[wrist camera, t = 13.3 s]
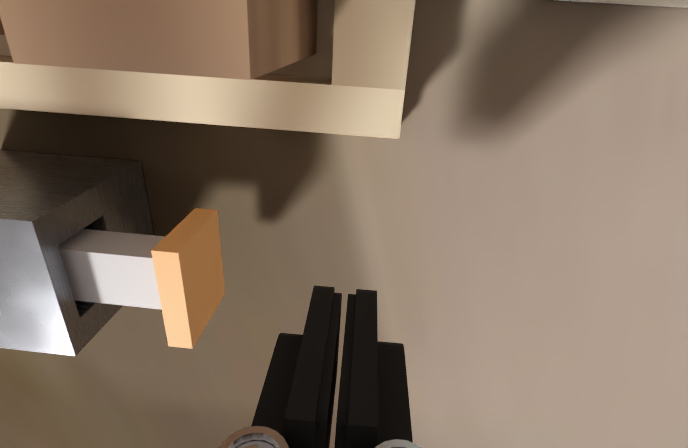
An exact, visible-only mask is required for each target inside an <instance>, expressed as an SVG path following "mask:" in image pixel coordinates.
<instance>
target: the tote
mask: <svg viewBox="0 0 688 448" xmlns="http://www.w3.org/2000/svg"><path fill="white" fill-rule="evenodd" d="M556 1H573V2H591V3H609V4H627V5H644V6H662V7H680V8H688V0H556Z"/></svg>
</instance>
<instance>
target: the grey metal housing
mask: <svg viewBox="0 0 688 448" xmlns="http://www.w3.org/2000/svg"><path fill="white" fill-rule="evenodd" d="M82 229H90V230H100V231H111V232H122V233H132V234H143V235H154V232H153V227H152V221H151V215H150V210H149V204H148V198H147V193H146V187H145V181H144V176H143V170H142V164H141V161H132V160H120V159H108V158H96V157H84V156H72V155H60V154H48V153H36V152H24V151H12V150H0V348H7V349H16V350H25V351H34V352H43V353H52V354H61V355H70V356H76V355H77V354H78V353H79V352H80V351H81V350H82V349H83V348H84V347H85V345H86V344H87V343H88V342H89V341H90V340H91V339H92V338H93V337H94V336H95V335H96V334H97V333H98V332H99V330H100V329H101V328H102V327H103V326H104V325H105V324H106V323H107V322H108V321H109V320H110V319H111V318H112V317H113V316H114V314H115V313H116V312H117V311H118V310H119V309H120V308H121V307H122V306H123V305H115V304H105V303H95V302H86V301H76V300H74V297H73V294H72V291H71V287H70V284H69V281H68V277H67V274H66V271H65V267H64V264H63V261H62V257H61V254H60V251H59V248H58V245H59V244H61V243H62V242H64V241H65V240H67V239H68V238H70V237H71V236H73V235H74V234H76V233H77V232H79V231H80V230H82Z"/></svg>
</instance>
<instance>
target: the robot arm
mask: <svg viewBox="0 0 688 448" xmlns="http://www.w3.org/2000/svg"><path fill="white" fill-rule="evenodd" d="M341 300H342V293H334V287H324V286H314V288H313V293H312V297H311V302H310V306H309V311H308V315H307V320H306V324H305V329H304V333H303V335H298V334H286V333H280V334H279V336H278V339H277V342H276V346H275V349H274V352H273V356H272V359H271V362H270V366H269V369H268V372H267V376H266V379H265V382H264V386H263V389H262V392H261V396H260V399H259V402H258V406H257V409H256V412H255V416H254V419H253V422H252V426H251V427H247V428H243V429H241V430H239V431H237V432H235V433H233V434H232V435H230V436H229V437H228V438H227V439H226V440H225V441H223V443H222V444H221V446H220V447H219V448H329V444H330V434H331V424H332V415H333V405H334V395H335V386H336V376H337V363H338V347H339V332H340V316H341ZM335 448H422V447H420V446H419V445H417V444H415V443H413V441H412V430H411V419H410V408H409V397H408V386H407V375H406V364H405V353H404V346H403V344H400V343H389V342H377V291H372V290H360V289H357V290H356V295H355V294H348V302H347V313H346V324H345V334H344V345H343V356H342V367H341V378H340V389H339V399H338V410H337V422H336V436H335Z"/></svg>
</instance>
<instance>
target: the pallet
mask: <svg viewBox="0 0 688 448" xmlns="http://www.w3.org/2000/svg"><path fill="white" fill-rule="evenodd" d="M414 9H415V0H318V6H317V50H316V54H314V55H312V56H309V57H307V58H304V59H302V60H299V61H297V62H294V63H292V64H289V65H287V66H284V67H282V68H279V69H277V70H274V71H272V72H269V73H267V74H264V75H262V76H259V77H257V78H254V79H252V80H243V79H229V78H215V77H200V76H186V75H172V74H158V73H143V72H129V71H115V70H101V69H86V68H72V67H58V66H44V65H29V64H15V63H13V59H12V56H11V52H10V49H9V45H8V42H7V39H6V35H0V108H4V109H17V110H30V111H43V112H56V113H69V114H82V115H95V116H108V117H121V118H134V119H147V120H160V121H173V122H186V123H199V124H212V125H225V126H238V127H251V128H264V129H277V130H290V131H303V132H316V133H329V134H342V135H355V136H368V137H381V138H394V139H399V137H400V128H401V120H402V111H403V103H404V94H405V85H406V77H407V68H408V60H409V51H410V43H411V34H412V26H413V17H414Z"/></svg>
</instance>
